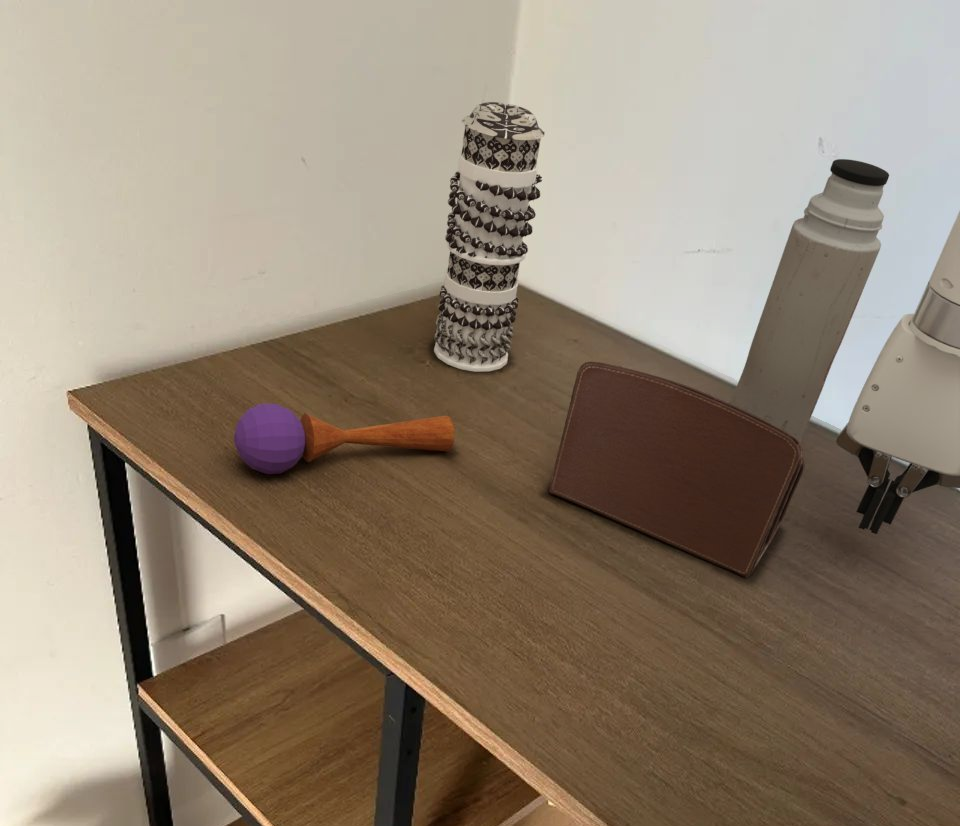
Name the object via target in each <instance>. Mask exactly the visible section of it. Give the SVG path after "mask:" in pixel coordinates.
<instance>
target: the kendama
mask: <svg viewBox="0 0 960 826" xmlns="http://www.w3.org/2000/svg"><path fill="white" fill-rule="evenodd" d="M233 441H234V446H235V448H236V450H237V453H238V455H239V457H240V459H241V461H243V462H244V463H245V464H246V465H247V466H248V467H249V468H251V469H253V470H255V471H257V472H259V473H263V474H266V475H275V474H281V473H284V472H286V471H288V470H291V469H292V468H293V467H294V466H296V464H297V463H298V462H299V460H300V459H301V458H304V461H305V462H307V463H310V462H312V461H314V460H315V459H317V458H319V457H321V456H323V455H325V454H327V453H328V452H330V451H333V450H334V449H336V448H338V447H339V446H341V445H344V444H354V445H365V446H378V447H390V448H399V449H414V450H423V451H424V450H426V451H437V452H450V451H451V450H452V449H453V447H454V443H455V427H454V423H453V420H452V419H451V417H450V416H448V415H440V416H433V417H427V418H418V419H413V420H407V421H399V422H393V423H385V424H379V425H373V426H372V425H371V426H365V427H358V428H351V429H345V430H344V429H341V428H339V427H337V426H335V425H333V424H330V423H328V422H326V421H324V420H321V419H319V418H317V417H315V416H313V415H310V414H308V413H305V412H303V414H302V415H301V417H300V418H299V417H298V416H297V415H296V414H295V413H294V412H293V411H292V410H291V409H289V408H287V407H284V406H282V405H279V404H276V403H258V404H256V405H255V406H252V407H250V408H248V409H247V410H246V412H245V413H244V414H243V415H241V417H239V419H238V420H237V423H236V428H235V431H234V436H233Z"/></svg>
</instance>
